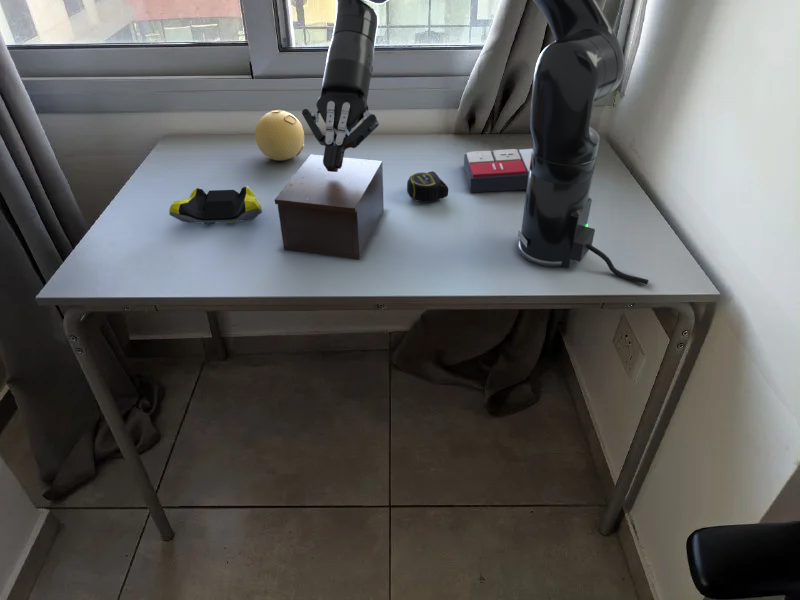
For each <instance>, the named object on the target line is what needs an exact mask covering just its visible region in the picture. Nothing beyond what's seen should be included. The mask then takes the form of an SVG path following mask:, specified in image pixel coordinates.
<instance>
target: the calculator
mask: <svg viewBox="0 0 800 600" xmlns="http://www.w3.org/2000/svg"><path fill="white" fill-rule="evenodd" d="M531 153H532V148H521V149H518V148H510V149H494V150H493V151H492V150H478V151H467V152H466V153H464V155H463V169H464V174H465V177H466V181H467V184H468V188H469V192H470V193H489V192H500V191H501V192H502V191H517V190H526V191H527V183H528V175H529V168H530V161H531Z"/></svg>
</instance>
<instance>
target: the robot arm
mask: <svg viewBox="0 0 800 600" xmlns="http://www.w3.org/2000/svg"><path fill="white" fill-rule="evenodd" d="M365 1H366V2H367V3H368V2H369V3H371V4H375V5H383V4H385V3H386V2H388V1H389V0H365ZM366 2H364V0H335V19H334V25H333V32H332V37H331V41H330V44H329V47H328V51H327V55H326V61H325V66H324V67H325V68H324V72H323V73H324V74H323V79H322V85H321V90H320V96H319V97H318V99H317V100H316V103H315V104H316V105H315V106H313V107H311V108H310V109H308V108H304V109H303V110H302V111H301V115H302V117H303V119H304V120H305V122H306V123H307V126H308V127H309V129H310V131H311V133H312V134H313V136H314V137H315V139H316V141H317V142H318V144H319V145H321V146H324V152H323V156H324V157H323V165H324V166H325V167H326V169H327V170H328V171H330V172H337V171H338V169H341V167H342V162H343V157H344V158H345V151H346V150H347V149H356V148H357V147H358V146H359V145H360V144H361V143H362V142H364V140H366V138H368V136H370V135H371V134H372V133H373V132H374V131H375V130H376V129H377V128H378V127H379V120H378V118H377V116H376V115H375V114H373V113H371V112H370V111H369V106H368V97H369V90H370V84H371V79H372V74H373V70H374V58H375V46H376V41H377V33H378V27H379V16H378V13H377V11H376V10H375V9H374V8H373V7H372V6H370V5H369V4H367V3H366ZM532 2H533V3H534V4H535V5H536V6H537V7H538V9H539V11H541V13H542V15H543V16H544V18H545V20H546V22H547V24H548V26H549V29H550V30H551V33H552V36H553V38H554V41H552V42H551V43H549V44H548V45H547V46H545V47H544V48H543V50H542V51H541V53H540V54H539V56H538V58H537V61H536V63H535V66H534V71H533V79H532V88H531V100H530V112H529V129H530V134H531V137H532V147H531V149H532V153H531V161H530V168H529V175H528V183H527V190H526V191H525V192H526V193H525V199H524V206H523V214H522V221H521V229H520V230H518V233H517V237H518V238H519V241H518V247H517V248H518V249H517V250H518V252H519V254H520V255H521V256H522V257H523V258H524V259H525V260H527V261H528V262H530V263H532V264H535V265H538V266H542V267H547V268H548V267H550V268H552V267H553V268H556V267H557V268H558V267H563V268H566V269H569V268H570V267H571V266H572V265H573V263H574V261H575V262H578V263H580V262H582V260H583V258H585V256H586V255H587V254H588V252H589V251H591V252H592V253H593V254H595V255H596V256H598V257H600V259H602V260H603V261H604V262H605V264H607V268H608V269H609V271H611V273H612V274H614V275H616V276H617V277H619V278H621V279H624V280H627V281H631V282H634V283H639V284H644V285H648V283H649V279H647V278H643V277H639V276H634V275H630V274H627V273H624V272H622V271H620V270H619V269H617V268H616V267H615V266H614V264H613V262H612V259H610V258H609V256H607V254H605V253H604V252H603V251H602V250H600V249H598V248H597V247H595V246H593V242H594V236H595V232H596V229H595V228H593V227H589V224H588V220H589V216H590V211H591V207H592V198H591V197H589V196H590V192H591V188H592V183H593V176H594V173H595V172H594V171H595V167H596V162H597V161H596V160H597V156H598V152H599V147H600V143H601V141H600V134H599V133H598V132H597V131H596V130H595V129H594V128H592V127H591V119H592V111H593V105H594V103H595V102H597V101H598V100H601V99H603V98H605V97H606V96H608V95H611V93H612V92H614V91H615V90H616V89H618V87H619V85H620V84H621V82H622V79H623V77H624V72H625V56H624V51H623V48H622V46H621V43H620V41H619V39H618V37H617V35H616V33H615V31H614V29H613V27H612V25H611V24H610V22H609V21H608V18H607V17H606V15H605V13H604V12H603V9H602V8H601V5H600V4H599V3H598V1H597V0H532ZM319 115H320V116H321V118H322V120H323V122H324V123H325V134H324V133H323V132H322V130H321V128H320V127H319V125H318V122H319V120H320V117H319ZM359 123H360V124H359ZM357 125H358V126H357ZM355 127H356V128H355ZM354 128H355V129H354ZM353 129H354V130H353Z"/></svg>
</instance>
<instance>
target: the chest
mask: <svg viewBox="0 0 800 600" xmlns="http://www.w3.org/2000/svg"><path fill="white" fill-rule="evenodd" d="M383 171H384V169H383V165H382V167H381V169H380V171H379V172H378V174H377V176H376V178H375V179H374V181H373V183H372V185H371V186H370V188H369V190H368V192H367V193H366V195H365V197H364V199H363V200H362V202H361V204H360V206H359V207H358V209H357V211H356V213H352V212H343V211H334V210H325V209H316V208H306V207H297V206H288V205H279V204H277V210H278V217H279V224H280V225H279V226H280V231H281V239H282V246H283V251H287V252H294V253H295V252H296V253H304V254H310V255H311V254H312V255H319V256H328V257H336V258H344V259H352V260H360V259H361V257H363V256H362V255H363V254H364V252H365V249H366V248H367V245H368V244H369V242H370V240H371V238H372V236H373V233H374V231H375V230H376V229H377V226H378V224H379V222H380V220H381V218H382V216H383V214H384V211H385V210H384V174H383V173H384V172H383Z"/></svg>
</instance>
